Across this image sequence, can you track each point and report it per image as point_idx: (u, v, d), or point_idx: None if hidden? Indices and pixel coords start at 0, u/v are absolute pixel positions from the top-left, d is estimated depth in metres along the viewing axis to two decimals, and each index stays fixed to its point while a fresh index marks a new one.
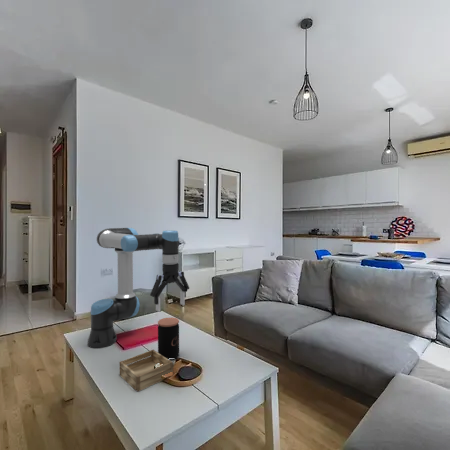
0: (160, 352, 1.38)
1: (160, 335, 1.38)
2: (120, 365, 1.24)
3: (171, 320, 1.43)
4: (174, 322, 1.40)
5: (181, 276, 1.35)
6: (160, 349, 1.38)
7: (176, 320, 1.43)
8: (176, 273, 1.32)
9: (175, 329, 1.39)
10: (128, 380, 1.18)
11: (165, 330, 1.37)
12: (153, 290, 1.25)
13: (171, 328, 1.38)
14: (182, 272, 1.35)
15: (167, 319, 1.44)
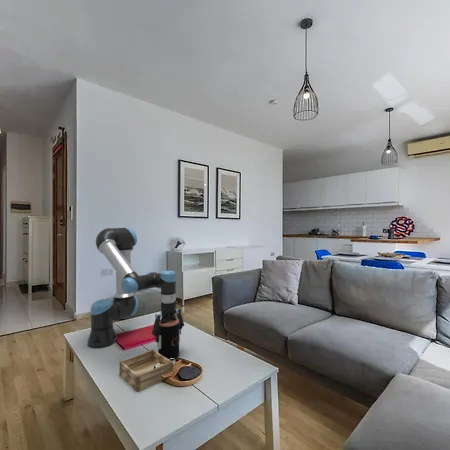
0: (160, 352, 1.38)
1: None
2: (120, 365, 1.24)
3: (171, 320, 1.43)
4: (174, 322, 1.40)
5: (178, 313, 1.45)
6: (160, 349, 1.38)
7: (176, 320, 1.43)
8: (174, 310, 1.43)
9: (175, 329, 1.39)
10: (128, 380, 1.18)
11: (165, 330, 1.37)
12: (154, 329, 1.36)
13: (171, 328, 1.37)
14: (179, 310, 1.45)
15: None
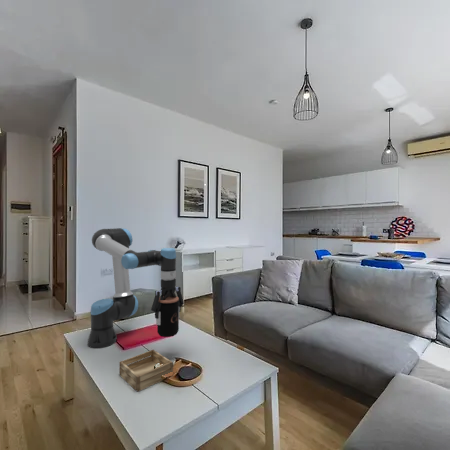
0: (159, 329, 1.38)
1: None
2: (120, 365, 1.24)
3: (170, 297, 1.42)
4: (174, 299, 1.40)
5: (178, 291, 1.45)
6: (159, 326, 1.38)
7: (176, 297, 1.43)
8: (173, 288, 1.43)
9: (175, 306, 1.39)
10: (128, 380, 1.18)
11: (165, 306, 1.37)
12: (153, 305, 1.36)
13: (171, 305, 1.37)
14: (179, 287, 1.45)
15: None
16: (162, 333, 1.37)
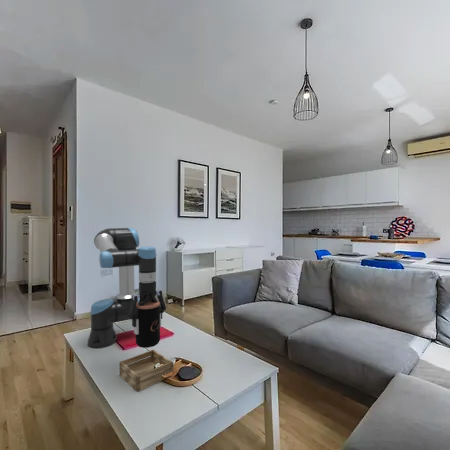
0: (138, 338, 1.21)
1: (138, 319, 1.21)
2: (120, 365, 1.24)
3: (150, 302, 1.26)
4: (154, 304, 1.23)
5: (159, 295, 1.29)
6: (138, 335, 1.21)
7: (157, 302, 1.26)
8: (154, 291, 1.26)
9: (155, 312, 1.22)
10: (128, 380, 1.18)
11: (143, 313, 1.20)
12: (130, 312, 1.19)
13: (150, 311, 1.21)
14: (160, 291, 1.28)
15: None
16: (141, 343, 1.20)
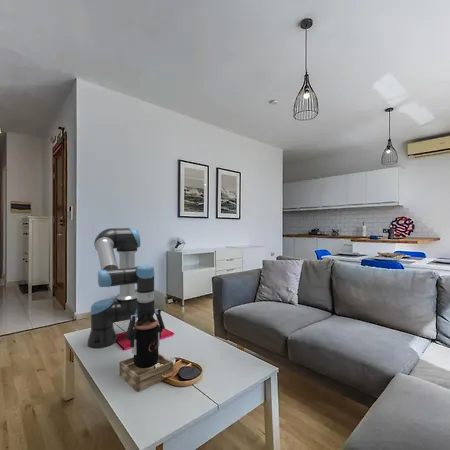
0: (136, 359, 1.20)
1: (136, 339, 1.20)
2: (120, 365, 1.24)
3: (149, 322, 1.25)
4: (152, 324, 1.22)
5: (157, 314, 1.28)
6: (136, 355, 1.20)
7: (155, 322, 1.25)
8: (152, 311, 1.25)
9: (153, 332, 1.21)
10: (128, 380, 1.18)
11: (141, 333, 1.19)
12: (128, 332, 1.18)
13: (148, 331, 1.20)
14: (159, 310, 1.27)
15: None
16: (138, 364, 1.19)
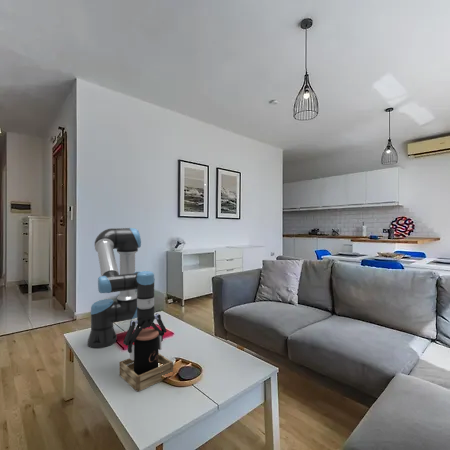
0: (136, 369, 1.20)
1: (136, 350, 1.20)
2: (120, 365, 1.24)
3: (149, 332, 1.25)
4: (153, 335, 1.22)
5: (158, 319, 1.28)
6: (136, 366, 1.20)
7: (155, 332, 1.25)
8: (152, 317, 1.25)
9: (153, 343, 1.21)
10: (128, 380, 1.18)
11: (141, 344, 1.19)
12: (126, 338, 1.18)
13: (149, 342, 1.20)
14: (159, 315, 1.27)
15: (145, 331, 1.26)
16: (138, 374, 1.20)
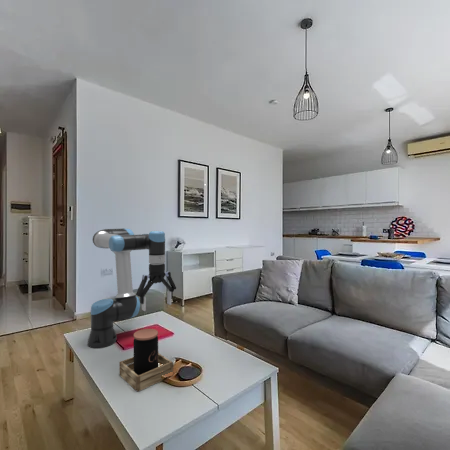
0: (136, 369, 1.20)
1: (135, 350, 1.20)
2: (120, 365, 1.24)
3: (149, 332, 1.25)
4: (152, 335, 1.22)
5: (168, 276, 1.37)
6: (136, 366, 1.20)
7: (155, 332, 1.25)
8: (162, 273, 1.34)
9: (153, 343, 1.21)
10: (128, 380, 1.18)
11: (141, 344, 1.19)
12: (139, 290, 1.27)
13: (148, 342, 1.20)
14: (169, 272, 1.37)
15: (145, 331, 1.26)
16: None
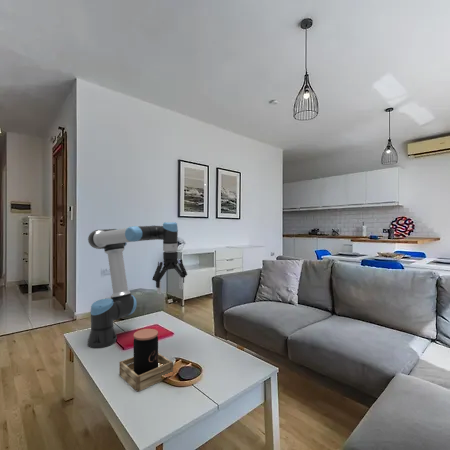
0: (136, 369, 1.20)
1: (135, 350, 1.20)
2: (120, 365, 1.24)
3: (149, 332, 1.25)
4: (152, 335, 1.22)
5: (180, 263, 1.51)
6: (136, 366, 1.20)
7: (155, 332, 1.25)
8: (175, 260, 1.48)
9: (153, 343, 1.21)
10: (128, 380, 1.18)
11: (141, 344, 1.19)
12: (155, 275, 1.41)
13: (148, 342, 1.20)
14: (181, 260, 1.50)
15: (145, 331, 1.26)
16: None
